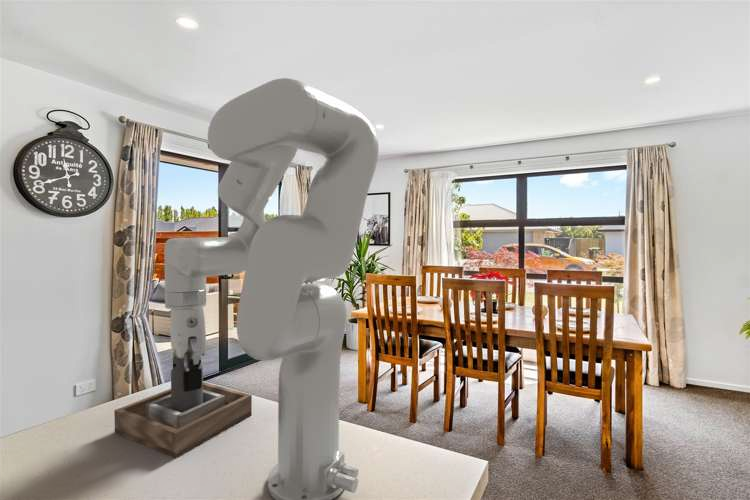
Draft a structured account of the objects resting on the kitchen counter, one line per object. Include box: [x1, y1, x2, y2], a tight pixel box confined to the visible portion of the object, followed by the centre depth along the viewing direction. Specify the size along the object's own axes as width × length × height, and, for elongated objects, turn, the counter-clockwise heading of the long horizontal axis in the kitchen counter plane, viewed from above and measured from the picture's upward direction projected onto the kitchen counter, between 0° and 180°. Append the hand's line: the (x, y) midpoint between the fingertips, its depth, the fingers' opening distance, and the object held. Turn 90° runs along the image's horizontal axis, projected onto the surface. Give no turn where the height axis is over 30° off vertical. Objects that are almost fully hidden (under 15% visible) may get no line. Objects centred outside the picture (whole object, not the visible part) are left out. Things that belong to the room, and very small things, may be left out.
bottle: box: [170, 344, 204, 413], centre depth 79 cm, size 6×6×15 cm
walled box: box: [114, 381, 253, 459], centre depth 79 cm, size 18×18×5 cm
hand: (186, 381), depth 79 cm, fingers open, 9 cm apart
